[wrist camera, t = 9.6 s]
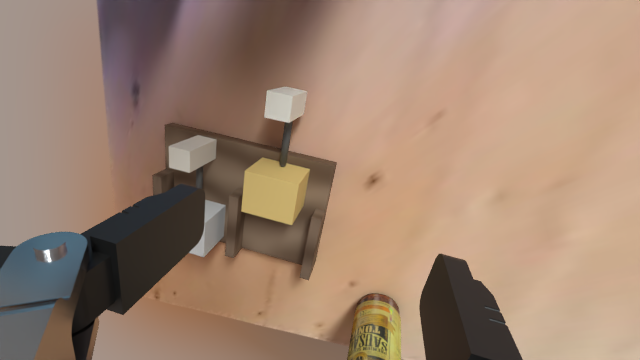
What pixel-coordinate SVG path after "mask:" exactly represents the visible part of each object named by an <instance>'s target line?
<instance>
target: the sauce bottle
mask: <svg viewBox="0 0 640 360" xmlns="http://www.w3.org/2000/svg"><path fill="white" fill-rule="evenodd" d="M347 360H401V319H400V313H399V308H398V306H397V304H396V303H395V301H394V300H393V299H391V298H390V297H388V296H385V295H382V294H369V295H367V296H365V297H363V298H362V299H361V300H360V302H359V303H358V304H357V308H356V311H355V315H354V321H353V327H352V333H351V340H350V346H349V352H348V358H347Z"/></svg>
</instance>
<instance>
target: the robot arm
mask: <svg viewBox="0 0 640 360" xmlns="http://www.w3.org/2000/svg"><path fill="white" fill-rule="evenodd" d="M204 220H205V192H204V190H203V189H201V188H197V187H193V186H189V185H186V184H179V185H177V186H175V187H173V188H172V189H170V190H168V191H166V192H165V193H161V194H157V195H154V196H150V197H147V198H145V199H143V200H141V201H139V202H137V203H136V204H134V205H133V207H131V206H130V207H128V208H127V209H125V210H123V211H122V213H120V212H119V213H118V214H116V215H114V216H112V217H110V218H109V219H107V220H105V221H103V222H101V223H100V224H98V225H96V226H94V227H92V228H91V229H89V230H87V231H85V232H84V233H82V234H77V233H73V232H55V233H49V234H44V235H40V236H37V237H34V238H31V239H29V240H27V241H25V242H23V243H22V244H20V245H18V246H17V247H13V246H0V360H92V356H93V351H94V346H95V341H96V336H97V330H98V326H99V319H98V316H99V315H100V314H101V313H103V311H105V310H106V309H107V310H110V311H114V312H116V313H119V314H122V315H124V314H125V313H126V312H127V311H128V310H129V309H130V308H131V307H132V306H133V305H134V304H135V303H136V302H137V301H138V300H139V299H140V298H141V297H142V296H144V295H145V294H146V293H147V292H148V291H149V290H150V289H151V288H152V287H153V286H154V285H155V284H156V283H157V282H158V281H159V280H160V279H161V278H162V277H163V276H165V275H166V274H167V273H168V272H169V271H170V270H171V269H172V268H173V267H174V266H175V265H176V264H177V263H178V262H179V261H180V260H181V259H182V258H183V257H185V256H186V255H187V254H188V253H189V252H190V251H191V250H192V249H193V248H194V247H195V246H196V245H197V244H198V243H199V241H200V239H201V237H202V235H203V232H204ZM420 317H421V325H422V333H423V340H424V348H425V355H426V360H523V359H522V357H521V355H520V353H519V351H518V348H517V346H516V344H515V342H514V340H513V338H512V335H511V333H510V331H509V329H508V327H507V326H506V325H505V323H506V322H505V320H504V318H503V316H502V314H501V313H500V309H499V307H498V305H497V303H496V300H495V298H494V296H493V295H492V294H491V292H490V291H489V290H488V289H487V288H486V287H485V286H484V285H483V284H482V282H481V281H478V280H474V279H473V277H472V275H471V272H470V270H469V267H468V265H467V262H466V261H465V260H462V259H458V258H455V257H451V256H447V255H443V254H439V255H438V256H437V257H436V259H435V262H434V264H433V267H432V269H431V271H430V274H429V276H428V279H427V281H426V284H425V286H424V289H423V291H422V294H421V299H420Z"/></svg>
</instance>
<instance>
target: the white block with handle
mask: <svg viewBox="0 0 640 360" xmlns="http://www.w3.org/2000/svg"><path fill="white" fill-rule="evenodd" d="M216 142H217V140H216V139H212V138H208V137H204V136H200V135H197V136H194V137H192V138H189V139H186V140H184V141H181V142H178V143H176V144H173V145H170V146H169V168H173V169H177V170H180V171H184V172H188V173H190V172H192V171H194V170H196V187H197V188H201V189H203V165H205V164H207V163H209V162H210V161H212V160H214V159H216ZM225 209H226V205H223V204H219V203H216V202H212V201H208V200H205V220H204V232H203V235H202V237H201V239H200V241H199V243H198V244H197V245H196V246H195V247H194V248H193V249H192V250H191V251H190V252H189V253H191V254H194V255H198V256H201V257H205V256H206V255H207V253H208V252H209V251H210V250H211V249H212V248H213V247H214V246H215V245H216V244H217V243H218V242H219V241H220V240H221V239H222V238H223V237H224V224H225Z"/></svg>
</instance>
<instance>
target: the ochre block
mask: <svg viewBox="0 0 640 360" xmlns="http://www.w3.org/2000/svg"><path fill="white" fill-rule="evenodd" d="M306 98H307V91H304V90H300V89H295V88H290V87H286V86H285V87H281V88H276V89H272V90H267V96H266V105H265V115H264V117H265V118H270V119H274V120H278V121H283V122H285V126H284V133H283V140H282V148H281V155H280V162H279V161H275V160H271V159H267V158H263V157H262V158H261V159H260V160H258V161H257V162H256V163H254V164H253V165H252V166H250V167H249V168H248V169H246V170H245V175H244V186H243V197H242V209H241V212H245V213H249V214H252V215H256V216H260V217H263V218H267V219H271V220H274V221H278V222H282V223H285V224H289V225H292V224H293V223H294V221H295V219H296V218H297V216H298V214H299V213H300V211H301V209H302V207H303V206H304V200H305V195H306V189H307V184H308V178H309V172H310V169H308V168H304V167H300V166H296V165H291V164H287V156H288V149H289V142H290V136H291V129H292V122H293V120H295V119H297V118H298V117H300V116H302V115H303V114H304V110H305V104H306Z"/></svg>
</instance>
